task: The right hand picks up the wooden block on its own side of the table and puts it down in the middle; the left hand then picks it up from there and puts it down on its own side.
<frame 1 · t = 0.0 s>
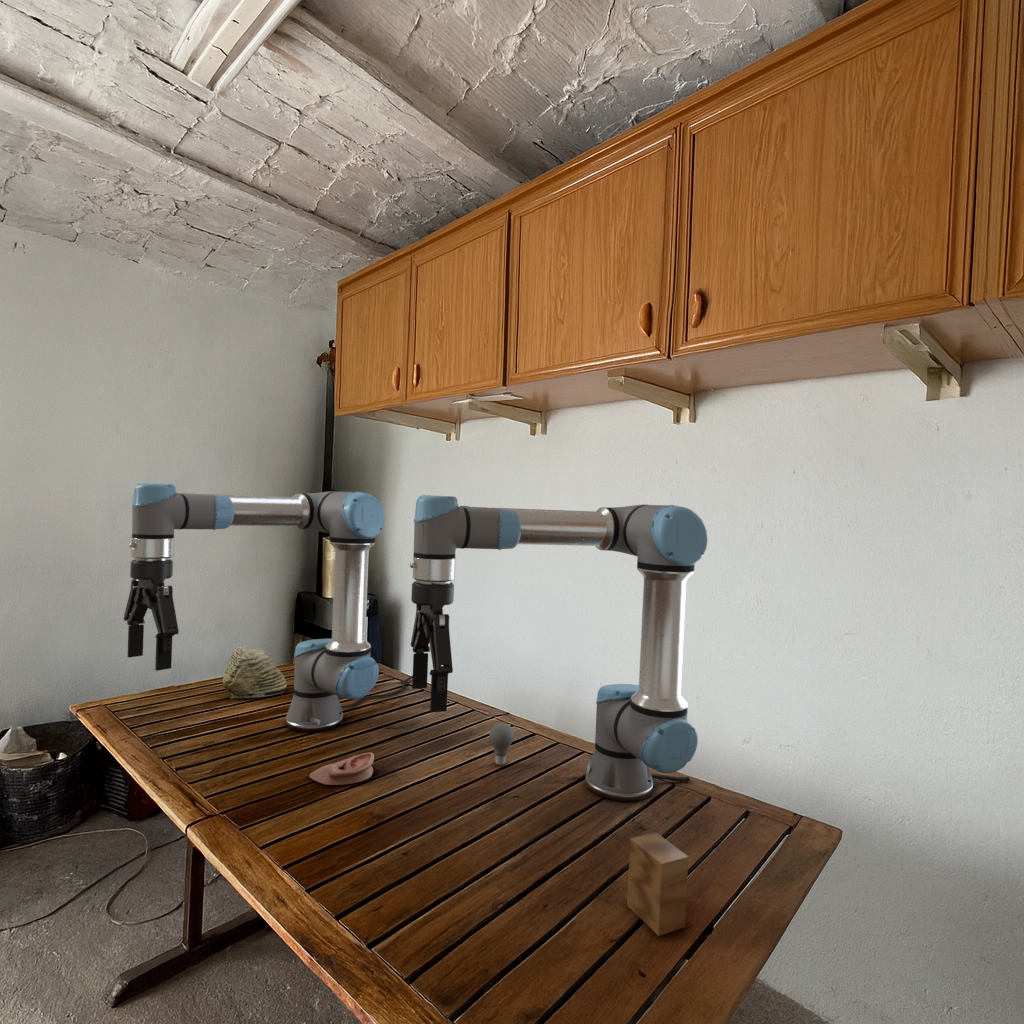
left hand: (148, 662, 129), 28 cm above the table, tool pointing down, fingers open, 13 cm apart
right hand: (428, 699, 114), 28 cm above the table, tool pointing down, fingers open, 13 cm apart
block: (655, 916, 100), on the table
light bulb: (500, 764, 154), on the table
anatomical model: (342, 775, 144), on the table
fossil: (254, 694, 198), on the table
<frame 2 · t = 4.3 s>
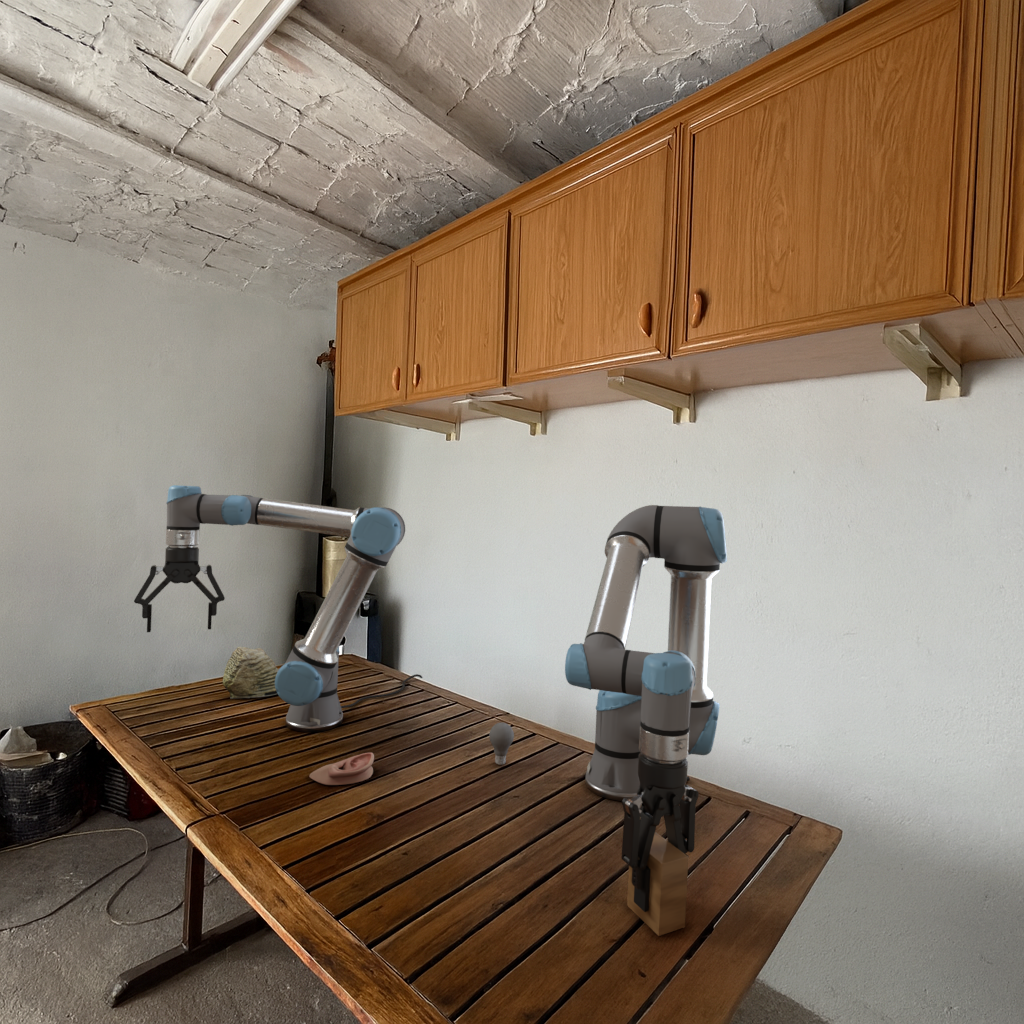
left hand: (179, 629, 161), 28 cm above the table, tool pointing down, fingers open, 13 cm apart
right hand: (656, 901, 100), 2 cm above the table, tool pointing down, fingers closed on block, 5 cm apart
block: (655, 916, 100), on the table, touching right hand
everything else where it was.
when the right hand's fingers open (3 cm above the table, at t = 11.2 s): block drops 1 cm, on the table.
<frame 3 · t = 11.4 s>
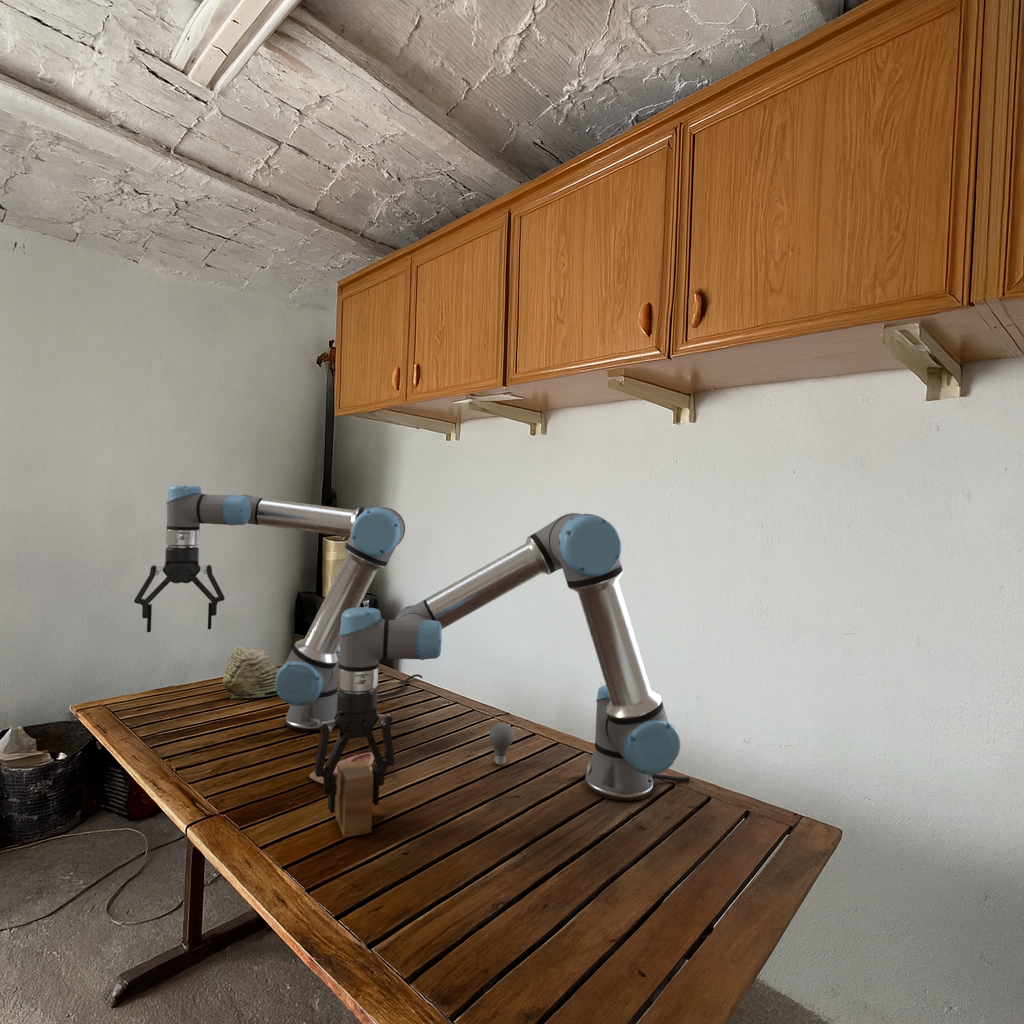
left hand: (179, 629, 161), 28 cm above the table, tool pointing down, fingers open, 13 cm apart
right hand: (353, 805, 123), 4 cm above the table, tool pointing down, fingers open, 8 cm apart
block: (353, 825, 123), on the table
everything else where it was.
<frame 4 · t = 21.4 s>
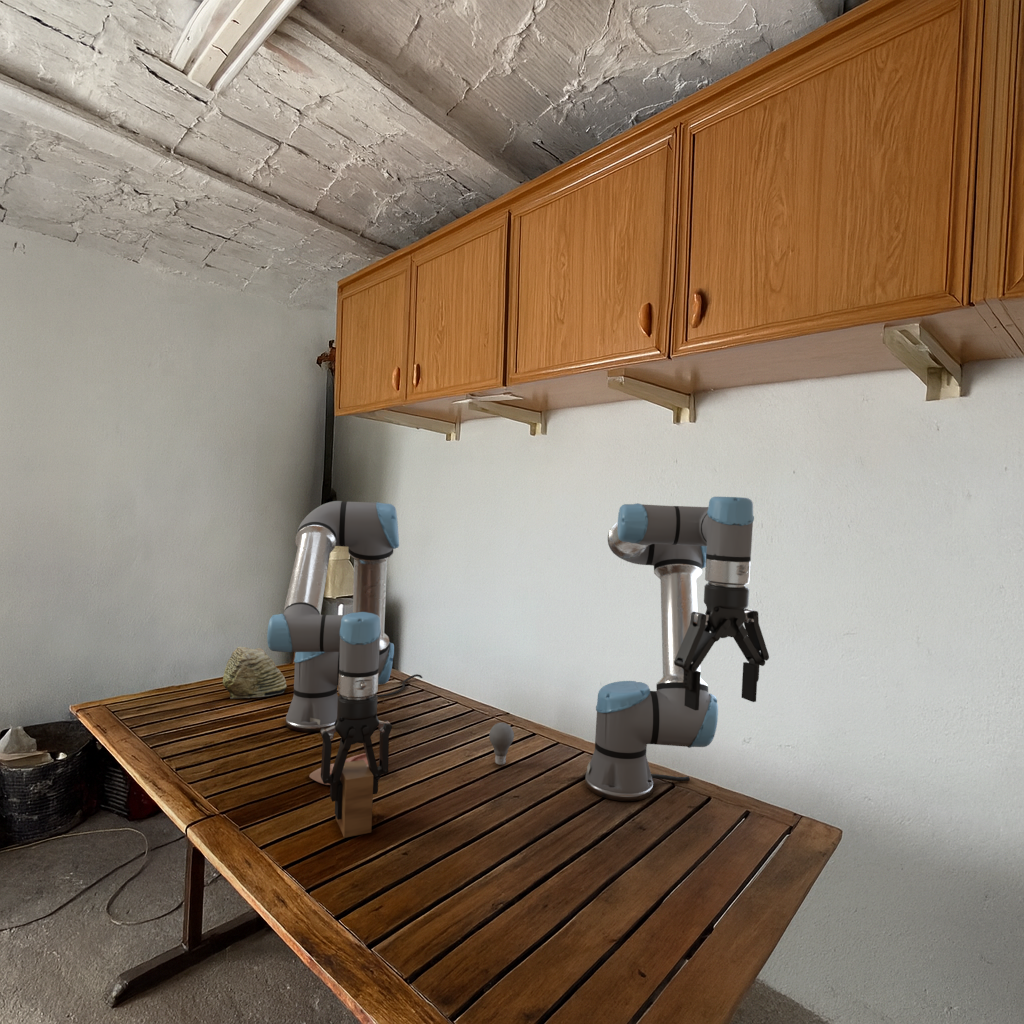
left hand: (353, 813, 123), 2 cm above the table, tool pointing down, fingers closed on block, 5 cm apart
right hand: (720, 703, 112), 30 cm above the table, tool pointing down, fingers open, 13 cm apart
block: (353, 825, 123), on the table, touching left hand
everything else where it was.
when the left hand's fingers open (3 cm above the table, at t = 25.8 s): block drops 1 cm, on the table.
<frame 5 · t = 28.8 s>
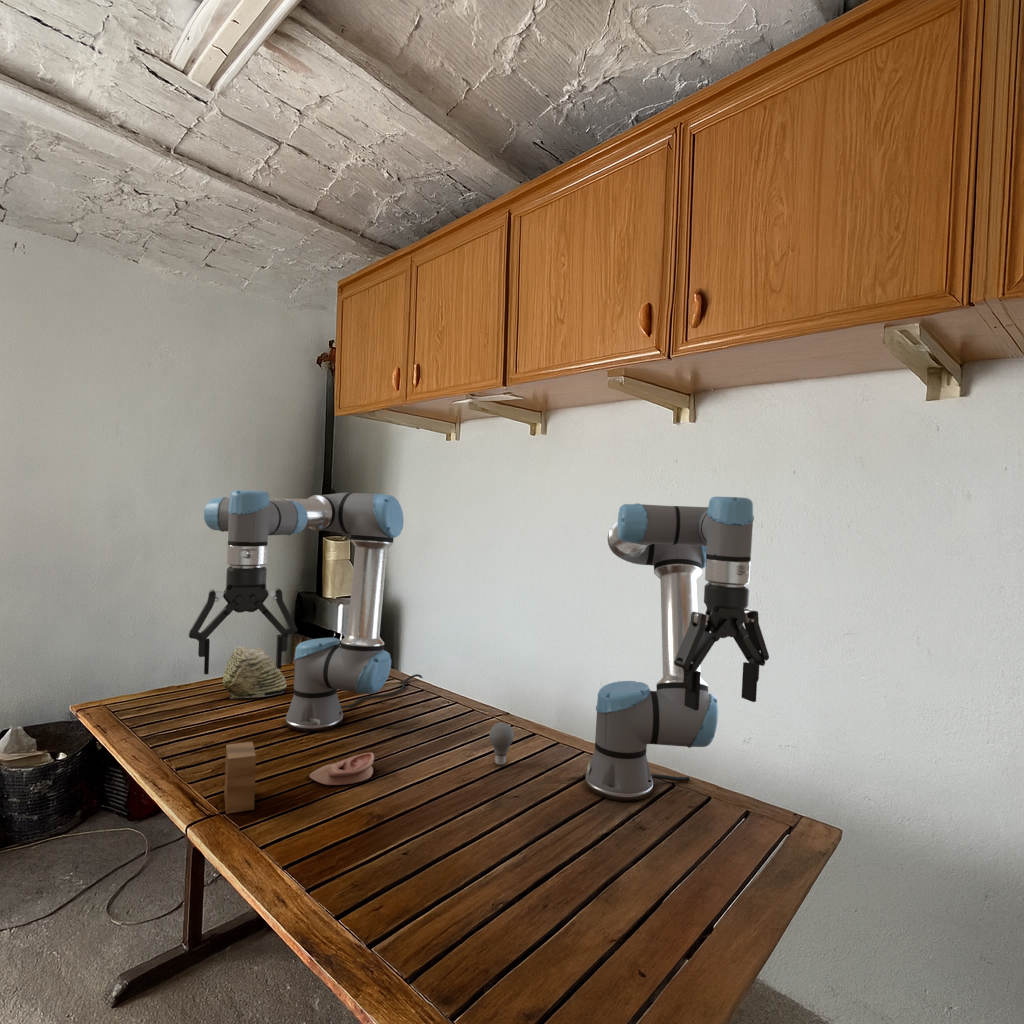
left hand: (243, 670, 129), 27 cm above the table, tool pointing down, fingers open, 13 cm apart
right hand: (720, 703, 112), 30 cm above the table, tool pointing down, fingers open, 13 cm apart
block: (238, 803, 130), on the table
everything else where it was.
at the end: block inside the target area (0.1 cm from its centre), on the table; block tilted 0°; the two hands never held the block at the same time; the left hand is holding nothing; the right hand is holding nothing; block at rest at the end (0.0 cm/s) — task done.
